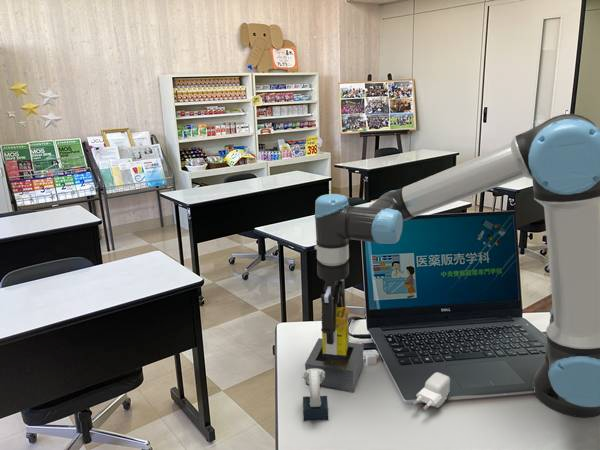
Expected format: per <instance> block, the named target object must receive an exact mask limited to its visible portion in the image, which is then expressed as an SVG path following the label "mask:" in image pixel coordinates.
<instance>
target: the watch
mask: <svg viewBox="0 0 600 450" xmlns="http://www.w3.org/2000/svg"><path fill="white" fill-rule="evenodd" d="M324 378H325V372H324V371H323V370H321V369H308V370H306V371H305V370H304V371H303V373H302V374H301V379H304V381H305V383H306V382H307V384H309V385H308V386H309V396H308V395H307V396H302V412H303V414H302V415H303V422H313V421H316V422H317V421H329V404H328V395H320V393H321V391H320V388H321V387H320V384H321V383H322V381H323V380H324ZM317 385H318V386H317Z"/></svg>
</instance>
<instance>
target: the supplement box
mask: <svg viewBox="0 0 600 450" xmlns="http://www.w3.org/2000/svg"><path fill="white" fill-rule="evenodd" d="M321 320H322V316H321ZM335 329H336V330H337V355H332V354H326V346H325V333H322V332H321V334H322V335H321V339H322V346H323V356H328V357H340V358H346V354H347V349H348V346H349V342H350V341H349V333H350V332H349V330H350V329H349V307H348V306H346V307H337V308H336V326H335Z"/></svg>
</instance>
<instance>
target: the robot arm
mask: <svg viewBox="0 0 600 450" xmlns="http://www.w3.org/2000/svg"><path fill="white" fill-rule="evenodd" d="M522 178H527V179H531V180H532V181H531V182H532V190H533V191H532V192H533V199H534V201H536V202H537V203H538V204H540V205H541V206H542V207H543V210H544V222H545V233H546V243H547V244H546V245H547V254H548V255H547V256H548V257H547V258H548V267H549V278H550V280H549V281H550V288H551V289H550V290H551V303H552V305H551V309H550V311H549V315H550V316H549V317H550V318H549V324H548V325H547V327H546V329H545V331H546V332H545V333H546V347H545V355H544V359H543V361H542V362H541V364H540V365H539V367H538V369H537V370H536V371H535V373H534V377H533V381H532V385H533V384H534V387H535V393H534V395H535V396H536V398H537V399H538V400H539V401H540V402H542V404H544V405H546V406H547V407H549V408H550V409H553V410H554V411H557V412H558V413H562V414H565V415H569V416H573V417H579V418H592V417H597V416H600V205H599V204H600V128H598V127H597V125H596V124H595V123H594V122H593V121H591V120H590V118H588V117H586V116H583V115H580V114H575V113H574V114H573V113H566V114H563V113H562V114H559V115H556V116H553V117H551V118H549V119H547V120H544V121H543V122H542V123H539V124H538V125H536V126H534V127H532V128H530V129H529V130H527V131H524V132H522V133H519V134H517V135H515V136H514V137H513V138H512V140H511V142H510V143H508V144H505V145H504V146H501V147H497V148H496V149H494V150H491V151H489V152H486V153H484V154H481V155H479V156H476V157H474V158H472V159H470V160H467V161H464V162H462V163H460V164H457V165H455V166H452V167H450V168H447V169H445V170H442V171H440V172H437V173H435V174H433V175H430V176H427V177H425V178H423V179H420V180H418V181H416V182H413V183H411V184H408V185H406V186H403V187H402V188H398V189H395V190H390V191H387V192H385V193H383V194H381V196H379V198H378V199H376V201H374V202H373V203H372V204H371V205H369V206H355V205H350V203H349V199H348V197H347V196H346V195H344V194H340V193H329V194H327V193H326V194H323V195H320V196H318V197H317V198H316V200H315V204H314V205H315V206H314V208H315V209H314V210H315V212H314V219H315V220H314V221H315V237H316V239H315V241H316V244H315V245H314V250H316V259H317V262H316V272H317V277H318V278H319V279H322V281H324V282H325V283H324V284H323V288H322V289H323V293H321V295H320V300H321V317H322V319H321V329H320V330H321V334H322V333H325V346H326V354H332V355H337V330H336V329H335V326H336V308H337V307H347V306H346V290H345V287H346V286H345V280H346V279H347V278H348V276H349V275H350V262H349V258H350V248H349V246H350V244H349V240H355V241H361V242H370V243H376V244H381V245H382V244H383V245H384V244H389V245H392V244H393V245H394V244H396V243H398V242H399V240H400V238H401V236H402V232H403V226H404V225H403V222H405V221H408V220H410V219H412V218H415V217H417V216H421V215H423V214H427V213H429V212H432V211H434V210H437V209H439V208H442V207H445V206H448V205H451V204H454V203H456V202H459V201H461V200H464V199H467V198H470V197H473V196H475V195H478V194H481V193H483V192H486V191H489V190H493V189H494V188H497V187H499V186H503V185H506V184H508V183H511V182H513V181H516V180H519V179H522Z"/></svg>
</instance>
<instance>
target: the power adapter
mask: <svg viewBox="0 0 600 450" xmlns="http://www.w3.org/2000/svg"><path fill="white" fill-rule="evenodd" d="M450 390H451V378H450V376H449V375H446V374H443V373H441V372H439V371H437V372H434V373H433V374H431V376H430V377H428V379H427V380H426V381H425V383H424V387H423V388H421V389H420V391H418V392H417V393H416V395H415V396H416V399H415V400H414V401H413V403H412V404H413V405H414V406H416V405H417V404H418V403H419V402H422V403H425V405H424V406H423V408H422V409H423V410H424V411H427V409H428V408H429V407H434V408H436V409H437V408H440V407H441V406H443V404H444V403H445V402H446V401H445V397H446V396H447V395H448V393H449V392H450ZM449 394H450V393H449Z"/></svg>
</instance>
